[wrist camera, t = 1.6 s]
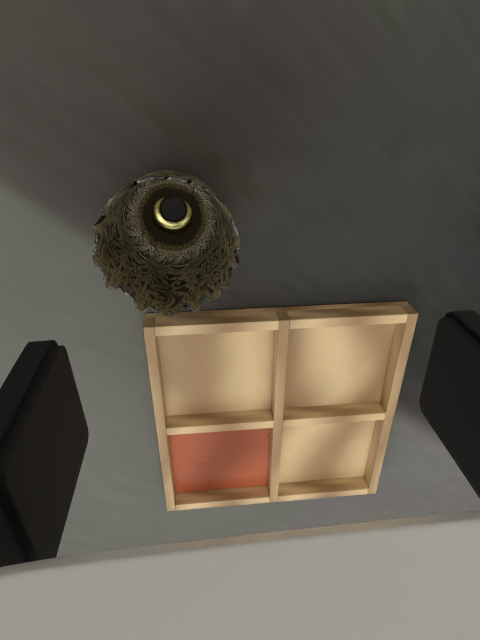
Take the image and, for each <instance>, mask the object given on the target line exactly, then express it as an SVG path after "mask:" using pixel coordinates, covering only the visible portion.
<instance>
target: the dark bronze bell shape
mask: <svg viewBox="0 0 480 640" xmlns="http://www.w3.org/2000/svg"><path fill="white" fill-rule="evenodd" d="M169 197H176V198H179V199H180V200H181V201H182V202H183V203H184V205H185V208H186V212H185V215H184V217H183V218H182V219H181V220H179V221H169V220H167V219H166V218H164V216H163V215H162V213H161V205H162V203H163V201H164V200H165V199H167V198H169ZM101 213H102V216H101V217H100V219H99V220H98V221H97V222H96V224H95V225H94V228H93V232H94V233H96V239H95V243H94V247H93V262H94V264H95V265H96V267H97V268H98V269H99V270H100V271H101V272H102V273H103V274H104V282H105V285H106V287H107V288H108V289H110V290H116V289H117V288H121V289H122V291H123V292H124V294H125V295H130V296H131V297H133V299H134V306H135V307H136V308H137V309H139V310H140V311H146V310H148V309H149V308H151V309H152V310H153V311H154V312H155V313H157V314H160V315H163V316H167V317H171V316H174V315H176V314H178V313H180V312H181V311H182V310H184V309H185V308H188V307H189V308H190V310H192V311H196V312H197V311H199V310H200V307H201V303H202V301H203V298H205V299H207V300H209V301H215V300H217V299H218V298H219V296H220V295H221V293H222V290H224V289H227V288H228V286H229V282H230V278H231V276H232V268H235V269H236V267H238V265H239V259H238V250H239V248H240V235H239V232H238V229H237V227H236V224H235V222H234V220H233V218H232V214H231V212H230V211H229V209H228V208H227V207H226V206H225V205H224V204H223V203H222V201H221V200H220V199H219V197H218V196H217V195H216V194H215V193H214V191H213V190H212V189H211V188H210V187H209V186H207V185H206V184H205V183H204V182H202V181H201V180H200V179H198V178H196V177H194V176H192V175H189V174H187V173H184V172H180V171H174V170H161V171H155V172H151V173H148V174H145V175H143V176H141V177H139V178H137V179H136V180H134V181H132V182H131V183H129V184H128V185H126V186H125V187H123V188H122V189H120V190H119V191H118V192H117V193H115V194H114V195H113V197H111V198H110V199H109V200H108V201H107V202H106V204H105V205H104V206H103V208H102V210H101ZM116 286H118V287H116Z"/></svg>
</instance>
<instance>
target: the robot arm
mask: <svg viewBox="0 0 480 640" xmlns="http://www.w3.org/2000/svg"><path fill="white" fill-rule="evenodd" d="M420 408H421V411H422V413H423V414H424V416H425V417H426V419H427V420H428V422H429V423H430V425H431V426H432V428H433V429H434V431H435V432H436V434H437V435H438V437H439V438H440V440H441V441H442V443H443V444H444V446H445V447H446V449H447V450H448V452H449V453H450V455H451V456H452V458H453V459H454V461H455V462H456V464H457V465H458V467H459V468H460V470H461V471H462V473H463V474H464V476H465V477H466V479H467V480H468V482H469V483H470V484H471V486H472V487H473V489H474V490H475V492H476V493H477V495H478V496H479V498H480V315H478V314H477V313H476V312H474V311H473V310H467V311H453V312H448V313H447V314H446V315H445V317H444V318H441V319H440V320H439V322H438V325H437V329H436V333H435V338H434V342H433V346H432V350H431V354H430V358H429V362H428V367H427V371H426V375H425V379H424V383H423V387H422V391H421V396H420ZM87 443H88V427H87V423H86V419H85V416H84V412H83V409H82V405H81V401H80V398H79V394H78V390H77V387H76V383H75V380H74V376H73V372H72V369H71V365H70V361H69V358H68V354H67V351H66V348H65V347H64V346H58V344H57V343H56V341H54V340H49V341H35V342H28V344H27V345H26V346H25V348H24V350H23V351H22V353H21V355H20V356H19V358H18V360H17V361H16V363H15V365H14V366H13V368H12V370H11V371H10V373H9V375H8V377H7V378H6V380H5V382H4V383H3V385H2V387H1V388H0V640H480V511H471V512H461V513H451V514H441V515H432V516H422V517H412V518H402V519H392V520H383V521H373V522H364V523H354V524H345V525H335V526H326V527H317V528H307V529H298V530H289V531H280V532H270V533H261V534H252V535H243V536H234V537H225V538H216V539H207V540H198V541H189V542H180V543H172V544H163V545H154V546H145V547H136V548H128V549H120V550H112V551H104V552H97V553H89V554H81V555H73V556H66V557H58V558H56V555H57V552H58V548H59V544H60V541H61V537H62V533H63V530H64V526H65V523H66V519H67V515H68V512H69V508H70V505H71V501H72V497H73V494H74V490H75V487H76V483H77V479H78V476H79V472H80V468H81V465H82V461H83V458H84V454H85V450H86V447H87Z"/></svg>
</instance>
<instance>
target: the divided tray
mask: <svg viewBox="0 0 480 640" xmlns="http://www.w3.org/2000/svg"><path fill="white" fill-rule="evenodd" d="M417 317H418V313H417V312H416V311H415V310H414V309H413V307H412V306H411V305H409V303H408V302H407V301H398V302H378V303H357V304H336V305H315V306H294V307H273V308H252V309H231V310H210V311H197V312H196V311H189V312H180V313H178V314H176V315H174V316H171V317H167V316H163V315H160V314H157V313H147V314H145V320H144V325H143V332H144V340H145V347H146V355H147V362H148V370H149V377H150V385H151V392H152V400H153V408H154V415H155V423H156V430H157V438H158V445H159V453H160V460H161V468H162V475H163V483H164V490H165V498H166V505H167V511H175V510H187V509H198V508H210V507H221V506H233V505H244V504H256V503H267V502H277V501H278V502H280V501H292V500H303V499H315V498H326V497H338V496H349V495H361V494H373V493H376V489H377V485H378V480H379V476H380V472H381V468H382V464H383V459H384V455H385V451H386V447H387V443H388V439H389V434H390V430H391V426H392V422H393V418H394V414H395V409H396V405H397V401H398V397H399V393H400V388H401V384H402V380H403V376H404V372H405V368H406V363H407V359H408V355H409V351H410V347H411V342H412V338H413V334H414V330H415V326H416V322H417Z"/></svg>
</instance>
